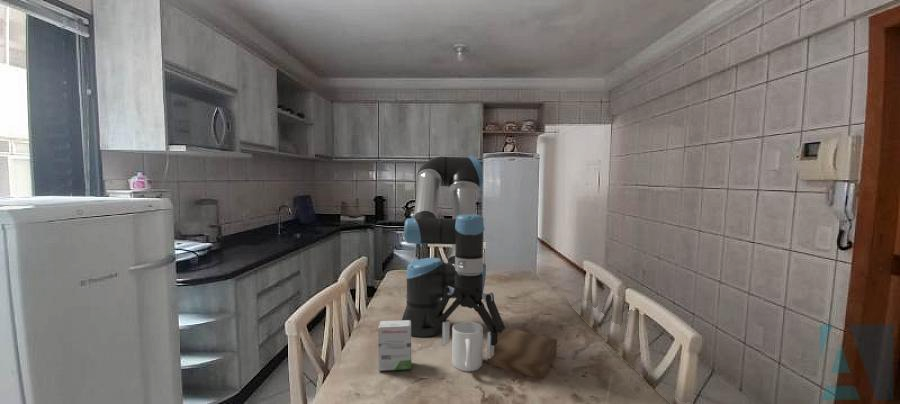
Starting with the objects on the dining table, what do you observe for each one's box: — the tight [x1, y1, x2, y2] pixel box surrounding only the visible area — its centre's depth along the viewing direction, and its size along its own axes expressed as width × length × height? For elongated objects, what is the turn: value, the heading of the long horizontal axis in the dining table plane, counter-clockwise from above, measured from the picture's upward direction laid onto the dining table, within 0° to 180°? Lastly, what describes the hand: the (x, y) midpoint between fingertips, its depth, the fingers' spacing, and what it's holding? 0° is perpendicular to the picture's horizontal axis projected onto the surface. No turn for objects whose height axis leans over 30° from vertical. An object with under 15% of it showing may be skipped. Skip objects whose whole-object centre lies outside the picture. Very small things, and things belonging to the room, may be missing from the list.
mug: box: [451, 320, 484, 372], centre depth 93 cm, size 12×8×10 cm
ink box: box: [377, 319, 412, 372], centre depth 94 cm, size 9×5×12 cm, turn 96°
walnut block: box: [487, 327, 558, 380], centre depth 99 cm, size 15×15×5 cm
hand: (467, 350), depth 95 cm, fingers open, 13 cm apart
